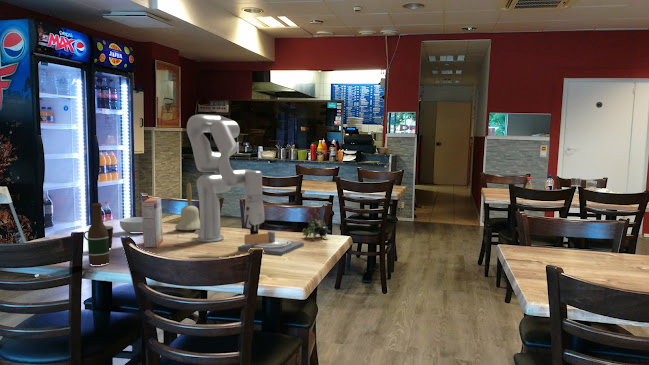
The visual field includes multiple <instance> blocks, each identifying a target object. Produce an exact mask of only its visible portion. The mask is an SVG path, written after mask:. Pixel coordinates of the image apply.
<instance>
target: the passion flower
mask: <svg viewBox="0 0 649 365" xmlns="http://www.w3.org/2000/svg"><path fill="white" fill-rule="evenodd" d="M307 223H308V227H307V229H306V228H303V229H302V231H301V233H302V235H303V237H304V236H305V238H307V237H311V236H312V240H314V239H315V237H316V236H317V235H318V234H319V237H320V238H323V237H326V232H327V233H328V234H330V233H332V232H331V230H330V229H329V227H328V226H327V224H326V223H325V221H324V220H321V219H314V220H313V221H308V222H307ZM312 234H313V235H312Z"/></svg>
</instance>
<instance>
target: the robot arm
mask: <svg viewBox="0 0 649 365" xmlns="http://www.w3.org/2000/svg"><path fill="white" fill-rule="evenodd" d="M240 130H241V129H240V126H239V124H238V123H237V122H236V121H235V120H232V119H230V118H227V117H224V116H222V115H219V114H202V113H201V114H200V113H199V114H195V115H192V116H191V117H189V118H188V121H187V123H186V134H187V136H188V138H189V141H190V144H191V148H192V152H193V158H194V163H195V166H196V168H197V169H196V170H198V171H199V172H200V173H201V172H202V173H203V172H205V173H207V174H203V175H200V176H199V177H198V179H197V180H196V188H197V193H198V201H199V220H200V229H196V230H195V231H194V235H197V237H196V240H197V241H198V242H203V243H208V242H209V243H211V242H212V243H213V242H219V241H222V240H224V238H225V237H224V235H223V234H222V235H221V208H220V207H221V205H220V204H221V202H220V199H219V198H218V196H217V194H222V193H227V192H229V191H230V190H231V189H232V188H236V187H237V188H238V187H244V199H245V200H244V201H245V204H244V213H243V214H244V215H243V216H244V219H243V221H244V225H246V226H245V227H246V228H247V229H248V230H249V231H250V234H259V230H260V226H261V225H262V223H264V222H265V220H266V219H265V217H266V216H265V206H264V202H263V172H262V171H260V170H253V169H252V170H250V169H248V168H246V169H245V168H243V169H233V168H232V166H231V164H230V163H231V162H230V157H232V155H234V154H236V153H237V151H238V150H239V146H238V144H237V142H236V141H235V139H236V138H237V137H239V135H240ZM204 133H211V136H212V137H213V141H214V143H215V145H216V147H217V149H218V151H213V150H212V148H211V142H210V141H209V139H208V137H207V136H206V135H205V134H204ZM208 172H209V173H208ZM211 172H214V173H211Z"/></svg>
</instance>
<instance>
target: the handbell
mask: <svg viewBox="0 0 649 365" xmlns="http://www.w3.org/2000/svg"><path fill="white" fill-rule="evenodd" d="M192 192H193V191H192V185H191V183H187V184H186V200H187V205H185V206H182V208H181V210H180V220H179V222H178V223H177V224H176V225H175V226H174V227H175V229H176V230H180V231H193V230H195V231H196V230H200V210H199V208H198V207H197V206H195V205H192V200H193V199H192V197H193V196H192V195H193V194H192Z"/></svg>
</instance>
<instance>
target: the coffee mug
mask: <svg viewBox="0 0 649 365" xmlns="http://www.w3.org/2000/svg"><path fill="white" fill-rule="evenodd" d="M105 227H106V229H107V231H108V237H109V248H111V247H113V236H114V235H113V232H114V226H112V225H105ZM86 233H88V230H85V231H84V232H83V235H84V236H83V237H84V239H85V240H86V241H87V242H88V237H86Z"/></svg>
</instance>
